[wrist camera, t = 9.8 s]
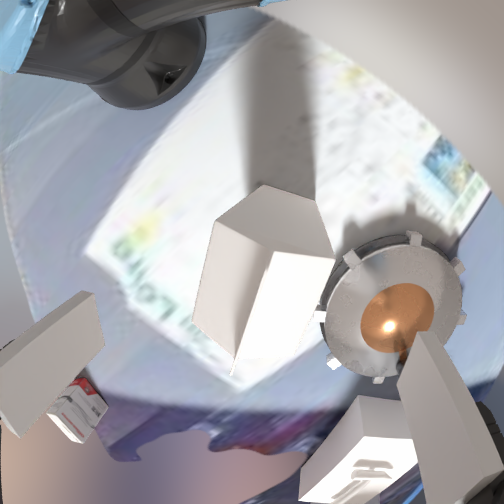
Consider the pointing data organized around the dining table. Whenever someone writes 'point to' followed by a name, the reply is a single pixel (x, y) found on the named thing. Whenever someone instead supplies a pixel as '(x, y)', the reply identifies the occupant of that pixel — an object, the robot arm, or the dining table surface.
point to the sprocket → (390, 306)
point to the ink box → (78, 410)
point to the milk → (263, 274)
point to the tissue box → (360, 454)
